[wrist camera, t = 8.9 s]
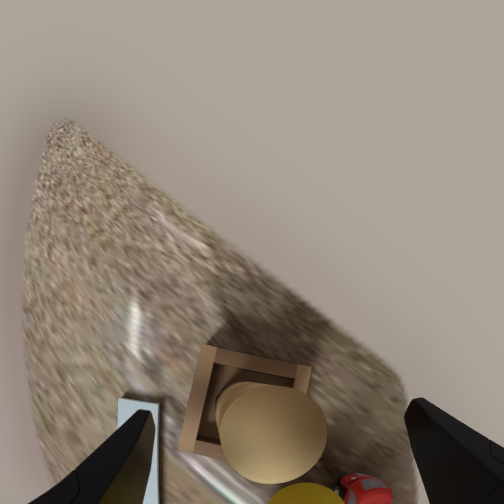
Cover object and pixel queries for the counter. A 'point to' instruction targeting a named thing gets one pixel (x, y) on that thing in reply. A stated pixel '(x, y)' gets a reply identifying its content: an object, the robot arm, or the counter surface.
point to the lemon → (306, 495)
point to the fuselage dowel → (269, 431)
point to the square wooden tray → (220, 375)
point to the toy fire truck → (363, 490)
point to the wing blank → (125, 412)
